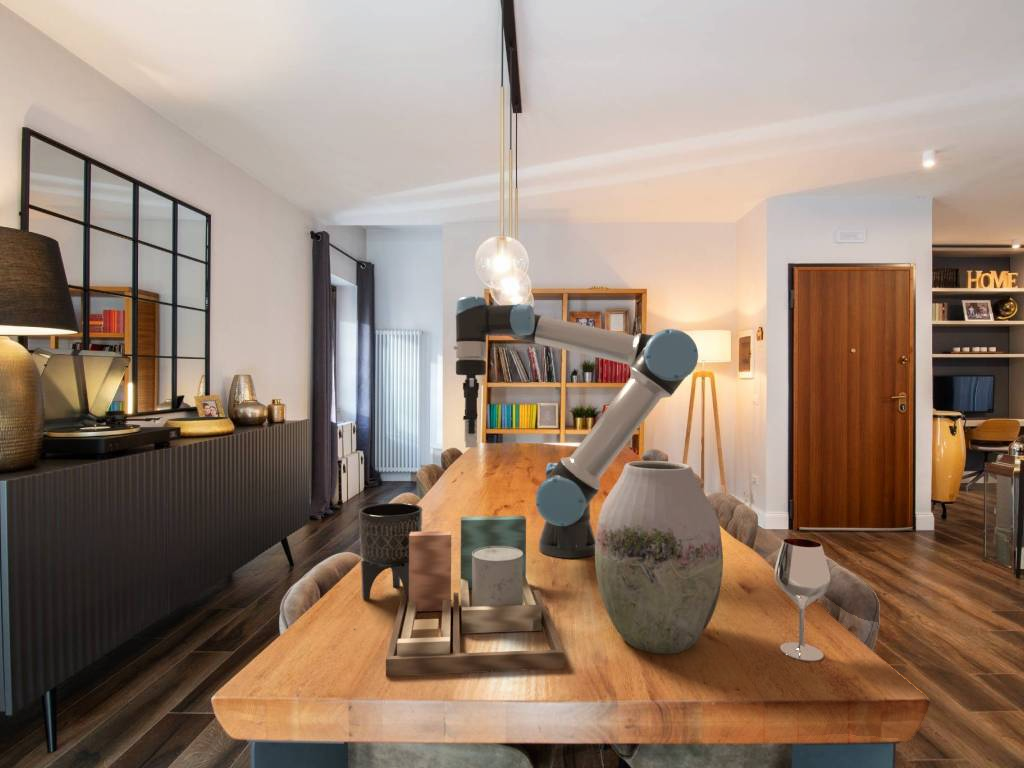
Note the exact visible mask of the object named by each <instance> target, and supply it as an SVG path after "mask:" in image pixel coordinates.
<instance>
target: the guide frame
mask: <svg viewBox="0 0 1024 768" xmlns="http://www.w3.org/2000/svg"><path fill="white" fill-rule="evenodd" d="M459 598H460V595H459V592H453V601H452V602H453V604H452V605H453V609H452V611H453V615H452V616H453V617H452V618H453V620H452V622H453V623H452V624H453V625H452V632H453V633H452V638H453V639H452V653H450V654H430V655H404V656H397V641H398V639H401V635H402V631H403V626H404V621H405V616H406V612H407V607H408V601H407V594H404V593H402V594H401V597H400V601H399V604H398V605H399V606H398V609H397V614H396V617H395V621H394V626H393V630H392V632H391V638H390V641H389V646H388V649H387V653H386V658H385V677H392V676H394V677H396V676H419V675H422V676H423V675H439V674H440V675H443V674H463V673H465V674H466V673H467V674H468V673H487V672H489V673H490V672H509V671H515V672H516V671H533V670H537V671H538V670H554V669H555V670H557V669H564V668H565V666H564V665H565V653H564V650H563V649H564V648H563V646H562V644H561V642H560V639H559V637H558V634H557V631H556V629H555V626H554V625H553V622H552V620H551V617H550V614H549V611H548V610H547V607H546V605H545V602H544V599H543V597H542V595H541V592H540V590H539V589H536V590H535V589H534V590H533V598H534V601H535V604H536V605H540V606H541V628H542V629H543V633H544V636H545V638H546V642H547V644H548V647H549V649H539V650H535V649H534V650H531V649H530V650H512V651H510V650H508V651H485V652H483V651H482V652H481V651H480V652H462V653H461V652H460V650H461V649H460V605H459V603H460V599H459Z"/></svg>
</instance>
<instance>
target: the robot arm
mask: <svg viewBox="0 0 1024 768" xmlns="http://www.w3.org/2000/svg"><path fill="white" fill-rule="evenodd" d="M455 326H456V327H455V330H456V331H455V333H456V334H455V339H456V341H455V342H456V343H455V344H456V345H453V350H455V351H456V352H455V357H456V358H457V359H458V360H456V361H455V374H456V375H457V376H466V377H465V380H464V382H462V390H463V398H464V399H465V401H464V402H465V403H464V415H463V416H462V420H463V421H464V443H465V448H478V416H479V415H478V398H479V389H480V383H479V382H478V378H477V376H485V375H486V374H487V361H486V360H485V359H486V358H487V336H507V337H510V338H511V339H514V340H517V341H520V342H528V343H532V344H538V345H542V346H546V347H550V348H555V349H560V350H564V351H568V352H573V353H577V354H581V355H586V356H591V357H594V358H599V359H601V360H602V359H603V360H608V361H612V362H616V363H621V364H625V365H627V366H629V371H630V378H628V380H627V381H626V383H625V384H624V385H623V386H622V388H621V389H620V391H619V392H618V393H617V394H616V396H615V397H614V398H613V400H612V401H611V403H610V404H609V405H608V407H606V409H605V411H604V412H603V413H602V414H601V416H600V417H599V418H598V420H597V421H596V423H595V424H594V425H593V426H592V428H591V429H590V431H588V433H587V434H586V436H585V437H584V439H582V441H581V442H580V443H579V445H578V447H577V448H576V449H575V451H574V452H573V453H572V454H571V455H570V456H569V457H561V458H560V460H559V462H549V463H547V465H546V468H545V480H544V481H542V482H541V483H540V485H539V486H538V487H537V490H536V494H535V506H536V508H537V511H538V513H539V515H540V516H541V517H542V518H543V520H545V522H544V525H543V528H542V532H541V535H540V537H539V540H538V541H539V542H538V543H539V544H538V551H539V552H540V553H542V554H544V555H547V556H551V557H553V558H554V557H556V558H565V559H578V558H579V559H580V558H585V557H590V556H592V555H595V544H596V536H595V534H594V530H593V527H592V524H591V502H592V500H593V499H594V498H595V496H596V495H597V494H598V492H599V491H600V490H601V488H602V487H601V482H600V481H601V478H602V477H603V475H604V474H605V473H606V471H607V470H608V469H609V468H610V466H611V464H612V463H613V462H614V461H615V459H616V458H617V457H618V455H619V454H620V453H621V452H622V451H623V449H624V448H625V446H626V445H627V443H628V442H629V441H630V440H631V438H632V437H633V436H634V434H635V433H636V431H637V430H638V429H639V428H640V427H641V426H642V424H643V423H644V422H645V420H646V419H647V418H648V416H649V415H650V414H651V412H652V411H653V410H654V408H655V407H656V406H657V404H658V403H659V402H660V400H661V399H663V398H664V399H665V398H670V397H672V396H673V395H674V393H675V392H676V390H678V388H679V386H680V385H681V384H682V383H683V381H684V380H685V379H686V378H687V377H688V376H690V375H691V374H692V373H693V372H694V370H695V369H696V367H697V365H698V360H699V350H698V347H697V344H696V342H695V341H694V340H693V338H692V336H690V335H689V334H687V333H686V332H684V331H681V330H678V329H674V328H667V329H662V330H660V331H658V332H656V333H654V334H647V333H642V332H640V333H637V334H636V335H633V334H628V333H622V332H618V331H615V330H609V329H604V328H599V327H595V326H591V325H585V324H582V323H578V322H576V323H575V322H572V321H567V320H562V319H558V318H553V317H548V316H545V315H540V314H536V313H535V311H534V307H533V305H530V304H521V303H517V304H502V305H501V304H499V305H498V304H497V305H496V304H495V305H492V304H491V305H489V304H488V303H487V299H486V298H484V297H482V296H463V297H459V298H458V300H457V301H456V314H455Z"/></svg>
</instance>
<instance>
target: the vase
mask: <svg viewBox="0 0 1024 768" xmlns="http://www.w3.org/2000/svg"><path fill="white" fill-rule="evenodd" d="M721 533H722V532H721V525H720V521H719V518H718V516H717V513H716V511H715V509H714V506H713V504H712V502H710V499H709V498H708V496H707V495H706V494H705V492H704V489H702V487H701V485H700V484H699V482H698V480H697V478H696V476H695V473H694V471H693V469H692V466H690V465H689V464H687V463H686V464H685V463H683V462H682V463H681V462H675V461H661V460H639V461H630V462H626V463H625V464H624V466H623V470H622V472H621V474H620V476H619V478H618V480H617V481H616V482H615V484H614V485H613V487H612V488H611V490H610V492H609V493H608V494H607V496H606V498H605V499H604V501H603V504H602V506H601V509H600V511H599V515H598V520H597V526H596V533H595V535H596V536H595V540H596V544H595V554H594V561H595V562H594V563H595V573H596V580H597V585H598V589H599V593H600V597H601V600H602V603H603V605H604V608H605V611H606V612H607V613H606V614H607V615H608V617H609V619H610V621H611V623H612V626H614V628H615V630H616V631H617V632H618V634H619V635H620V636H621V638H622V639H623V640H624V641H625V642H626V643H627V644H629V645H630V646H631V647H633V648H635V649H638V650H640V651H644V652H648V653H652V654H663V655H671V654H677V653H678V654H679V653H682V652H684V651H686V650H689V649H690V648H691V647H693V646H694V644H696V643H697V641H698V640H699V638H700V637H701V636H702V634H704V632H705V631H706V629H707V627H708V625H709V624H710V622H711V619H712V618H713V616H714V613H715V610H716V607H717V604H718V600H719V596H720V592H721V586H722V579H723V573H724V572H723V570H724V569H723V568H724V567H723V566H724V554H723V542H722V534H721Z"/></svg>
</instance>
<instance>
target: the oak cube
mask: <svg viewBox="0 0 1024 768" xmlns="http://www.w3.org/2000/svg"><path fill="white" fill-rule="evenodd" d="M439 626H440V625H439V618H428V619H427V618H425V619H423V618H422V619H418V618H417V619H415V621H414V626H413V636H412V638H434V637H439V631H440V630H439Z"/></svg>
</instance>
